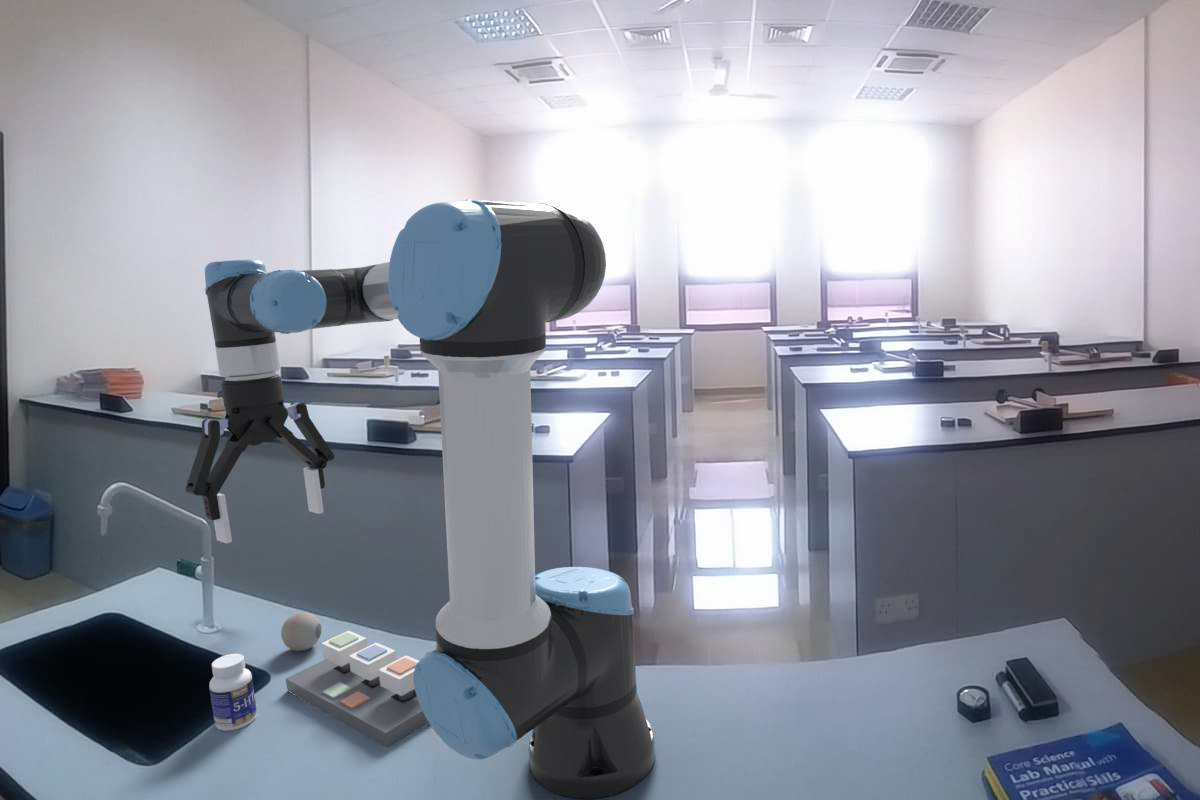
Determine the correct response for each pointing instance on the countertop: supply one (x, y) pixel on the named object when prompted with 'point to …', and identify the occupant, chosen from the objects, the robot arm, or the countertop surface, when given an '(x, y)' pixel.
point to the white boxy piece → (371, 662)
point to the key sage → (343, 648)
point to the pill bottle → (232, 693)
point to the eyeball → (301, 631)
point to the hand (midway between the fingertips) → (272, 526)
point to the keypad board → (357, 702)
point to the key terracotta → (399, 677)
